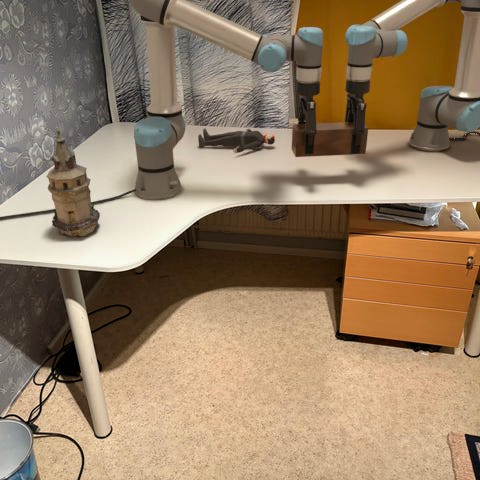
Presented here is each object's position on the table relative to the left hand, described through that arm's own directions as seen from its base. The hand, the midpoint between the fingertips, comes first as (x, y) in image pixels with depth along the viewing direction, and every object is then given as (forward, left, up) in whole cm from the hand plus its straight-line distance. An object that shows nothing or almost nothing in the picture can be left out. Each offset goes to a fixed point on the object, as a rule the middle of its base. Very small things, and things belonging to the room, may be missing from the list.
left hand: (305, 147), depth 177 cm
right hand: (+16, 0, -1) cm, 16 cm away
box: (+8, 0, -2) cm, 8 cm away
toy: (-19, +38, -12) cm, 45 cm away
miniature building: (-71, -26, -12) cm, 77 cm away
